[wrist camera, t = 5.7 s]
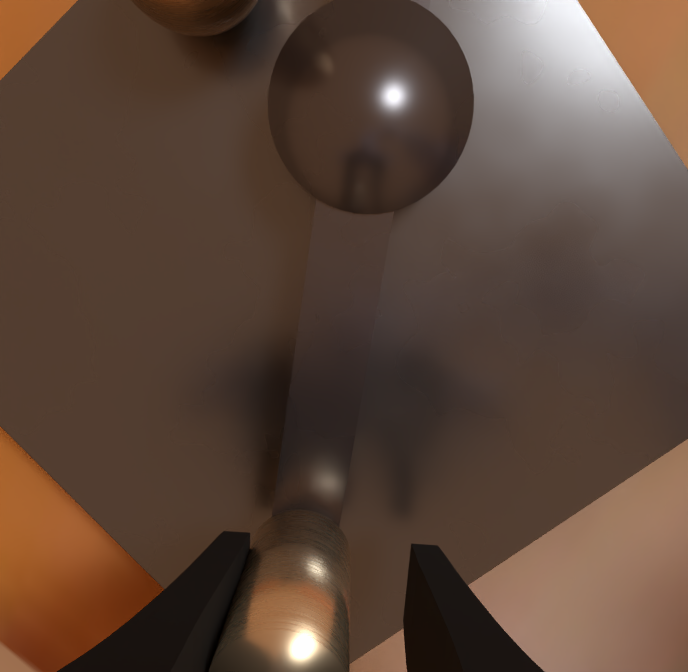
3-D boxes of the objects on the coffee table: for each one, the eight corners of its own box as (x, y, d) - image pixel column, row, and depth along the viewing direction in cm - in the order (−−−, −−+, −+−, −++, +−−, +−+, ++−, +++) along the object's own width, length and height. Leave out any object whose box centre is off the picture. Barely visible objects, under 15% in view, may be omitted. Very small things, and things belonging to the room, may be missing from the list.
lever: (307, -165, 9) (267, -504, 5) (513, -130, 9) (648, -436, 5) (221, 563, 13) (152, 734, 8) (373, 586, 13) (383, 769, 8)
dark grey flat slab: (769, 346, 13) (957, 397, 9) (288, 672, 16) (265, 828, 12) (374, -249, 11) (385, -548, 7) (-124, 254, 13) (-340, 264, 9)
